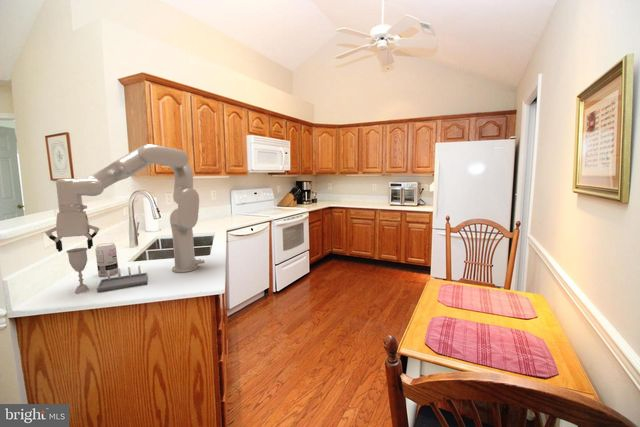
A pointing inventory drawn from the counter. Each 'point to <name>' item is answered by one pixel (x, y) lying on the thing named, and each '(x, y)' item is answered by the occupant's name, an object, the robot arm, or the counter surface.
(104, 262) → the supplement can
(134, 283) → the drying rack
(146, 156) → the robot arm
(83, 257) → the chalice
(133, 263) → the counter surface
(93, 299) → the counter surface
